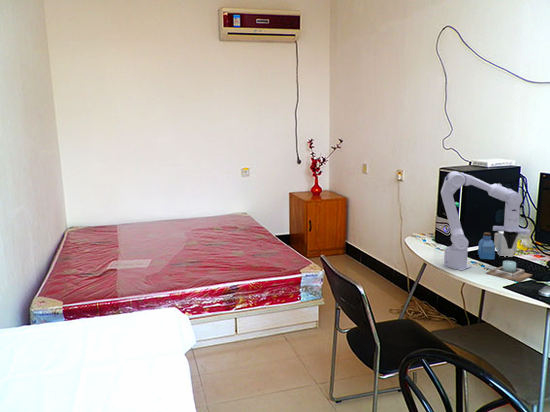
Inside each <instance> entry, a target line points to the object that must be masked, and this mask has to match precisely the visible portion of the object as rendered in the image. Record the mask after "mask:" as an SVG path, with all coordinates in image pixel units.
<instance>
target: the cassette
mask: <svg viewBox="0 0 550 412" xmlns="http://www.w3.org/2000/svg"><path fill="white" fill-rule="evenodd" d="M493 236H494V238H493V239H494V240H493V243H494V245H495V249H496V248H498V232H495V233H494V235H493ZM517 250H518V236H517V237H516V239H515V241H514V247H513V253H517V252H518V251H517Z"/></svg>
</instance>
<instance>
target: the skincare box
mask: <svg viewBox="0 0 550 412" xmlns="http://www.w3.org/2000/svg"><path fill="white" fill-rule="evenodd" d="M497 233H498V248H497V249H496V250H497V251H496V252H497V254H498V255H499V256H498V255H497V256H498V257H500V256H504V257H503V258H510V257H511V258H512V257H514V252H513V247H514V244H513V247H512V249H508V246H507V242H506V239H505V237H504V236H503V233H504V232H503V231H497ZM506 256H508V257H506Z"/></svg>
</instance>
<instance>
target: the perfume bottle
mask: <svg viewBox="0 0 550 412" xmlns="http://www.w3.org/2000/svg"><path fill="white" fill-rule="evenodd" d="M491 234H492V233H491V232H483V235H482V238H481V239H480V240H479V242H478V245H477V246H478V247H477V255H479V256H478V257H479V259H480V260H495V258H496V247H495V245H494V240H492V239H491V238H492V236H491Z"/></svg>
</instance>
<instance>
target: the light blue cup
mask: <svg viewBox="0 0 550 412" xmlns="http://www.w3.org/2000/svg"><path fill="white" fill-rule="evenodd" d="M502 266H503V271H504V272H508V273H512V274H514V273H516V268H517V262H516V261H513V260H503V261H502Z"/></svg>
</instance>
